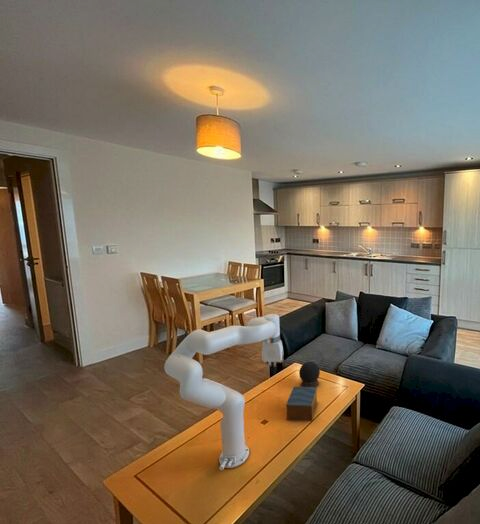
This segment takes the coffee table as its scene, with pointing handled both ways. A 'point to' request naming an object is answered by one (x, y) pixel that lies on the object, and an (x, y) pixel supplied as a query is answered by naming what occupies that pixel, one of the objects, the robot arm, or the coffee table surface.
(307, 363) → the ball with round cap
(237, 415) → the robot arm
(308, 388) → the blue-grey square panel
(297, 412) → the brown box
